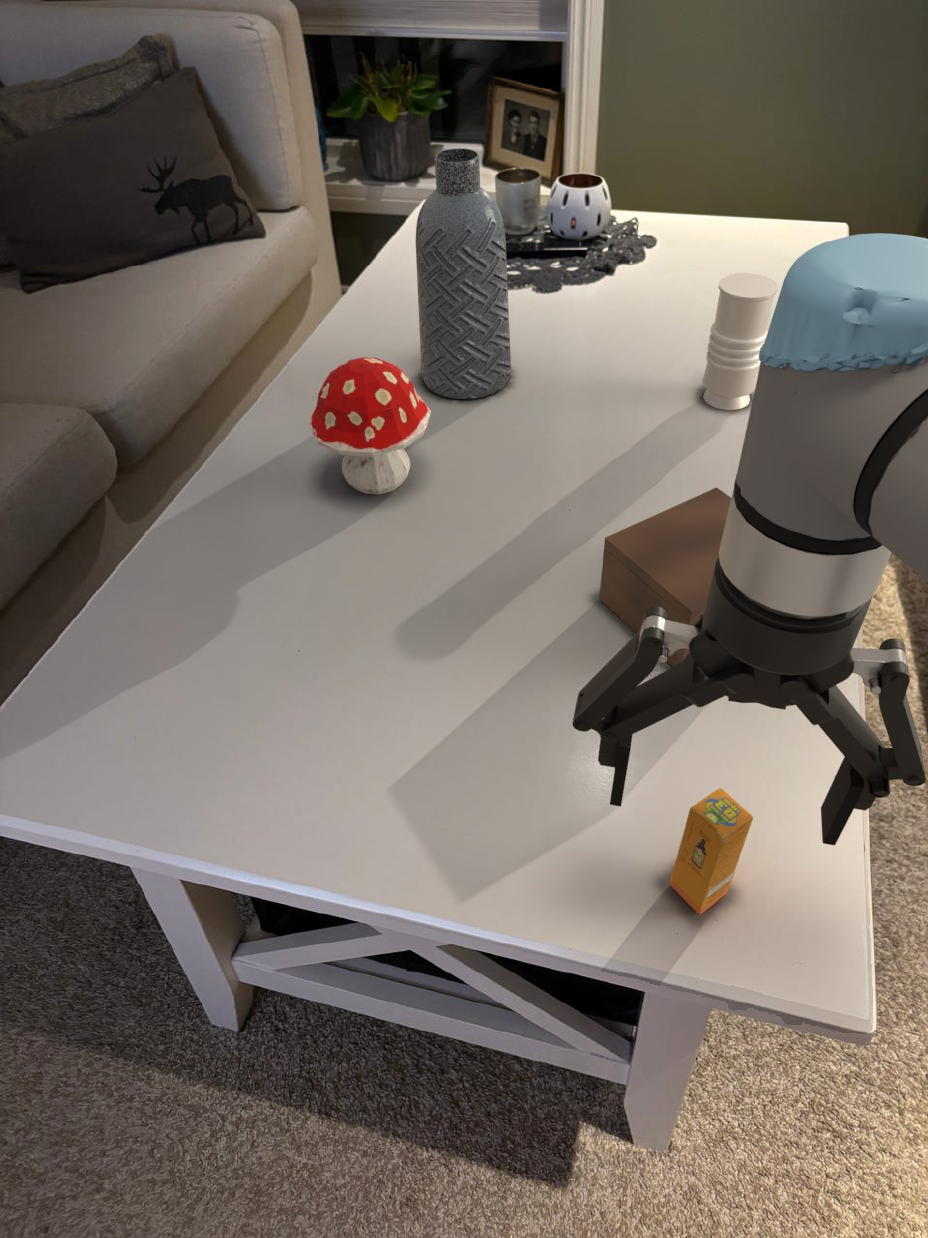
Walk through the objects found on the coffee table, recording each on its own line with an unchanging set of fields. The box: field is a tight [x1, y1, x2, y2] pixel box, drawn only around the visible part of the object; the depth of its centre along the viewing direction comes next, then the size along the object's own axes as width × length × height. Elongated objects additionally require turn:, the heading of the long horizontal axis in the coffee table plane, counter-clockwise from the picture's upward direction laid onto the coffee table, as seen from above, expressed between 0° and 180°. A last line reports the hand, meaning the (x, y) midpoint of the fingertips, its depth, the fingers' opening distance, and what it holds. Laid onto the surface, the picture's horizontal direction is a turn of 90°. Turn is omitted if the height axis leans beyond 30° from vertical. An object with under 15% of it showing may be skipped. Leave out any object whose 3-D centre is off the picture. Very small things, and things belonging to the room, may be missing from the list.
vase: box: [415, 147, 512, 400], centre depth 110 cm, size 12×12×28 cm
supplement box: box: [669, 787, 754, 915], centre depth 62 cm, size 3×3×10 cm
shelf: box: [598, 486, 732, 668], centre depth 84 cm, size 12×14×8 cm
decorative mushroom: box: [307, 356, 432, 495], centre depth 99 cm, size 14×14×15 cm
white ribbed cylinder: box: [702, 272, 779, 411], centre depth 108 cm, size 7×7×15 cm
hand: (720, 807), depth 58 cm, fingers open, 13 cm apart
